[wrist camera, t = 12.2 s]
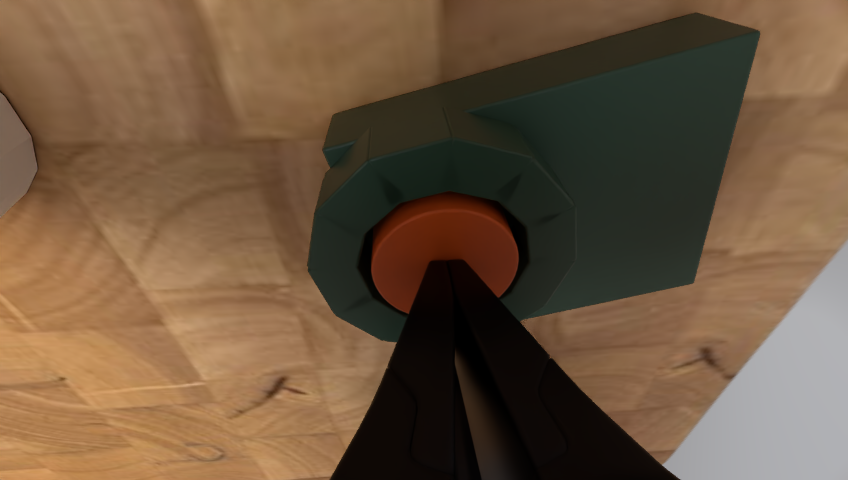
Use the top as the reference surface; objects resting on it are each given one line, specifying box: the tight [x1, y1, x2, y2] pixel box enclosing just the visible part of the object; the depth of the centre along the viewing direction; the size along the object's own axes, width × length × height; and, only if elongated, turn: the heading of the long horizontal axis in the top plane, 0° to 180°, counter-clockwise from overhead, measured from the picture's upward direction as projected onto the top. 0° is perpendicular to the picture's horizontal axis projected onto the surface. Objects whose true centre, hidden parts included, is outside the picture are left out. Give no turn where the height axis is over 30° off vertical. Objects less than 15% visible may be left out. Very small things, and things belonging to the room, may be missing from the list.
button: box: [371, 191, 519, 314], centre depth 10 cm, size 4×4×2 cm
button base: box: [307, 13, 760, 342], centre depth 12 cm, size 11×8×4 cm
